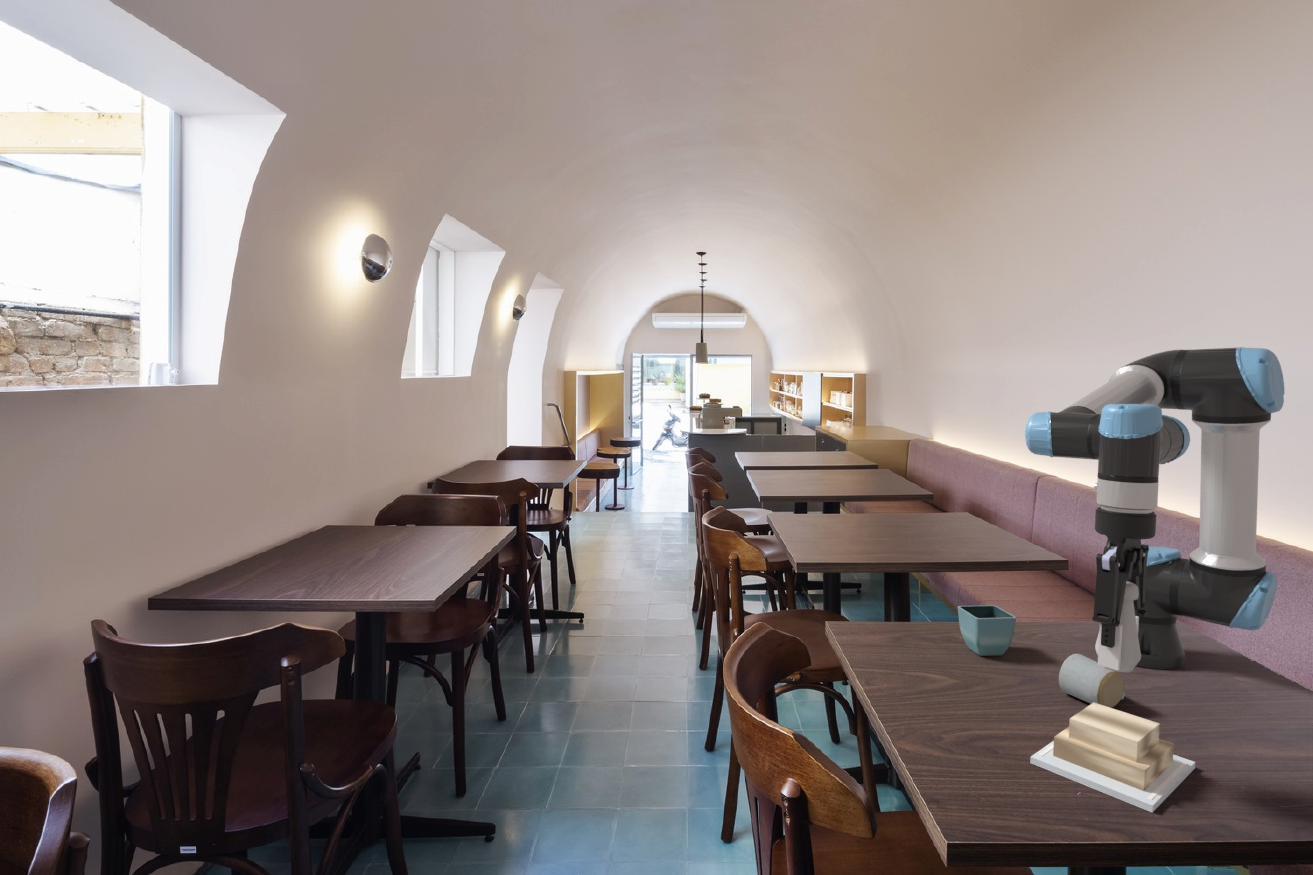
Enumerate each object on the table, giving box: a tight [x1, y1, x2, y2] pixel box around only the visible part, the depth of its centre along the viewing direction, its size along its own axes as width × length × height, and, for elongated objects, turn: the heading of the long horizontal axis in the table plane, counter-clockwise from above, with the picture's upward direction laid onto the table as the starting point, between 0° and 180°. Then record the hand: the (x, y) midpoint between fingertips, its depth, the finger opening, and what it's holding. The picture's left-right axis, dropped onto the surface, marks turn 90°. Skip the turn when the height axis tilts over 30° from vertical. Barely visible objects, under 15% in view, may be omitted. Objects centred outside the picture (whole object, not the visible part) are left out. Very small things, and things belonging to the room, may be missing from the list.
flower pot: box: [957, 604, 1017, 657], centre depth 153 cm, size 9×9×9 cm
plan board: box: [1029, 740, 1196, 813], centre depth 108 cm, size 18×16×1 cm
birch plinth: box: [1053, 703, 1175, 791], centre depth 108 cm, size 12×12×6 cm
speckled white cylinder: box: [1058, 653, 1126, 708], centre depth 130 cm, size 11×8×8 cm
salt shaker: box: [1094, 581, 1141, 673], centre depth 106 cm, size 6×6×13 cm
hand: (1117, 661), depth 107 cm, fingers closed on salt shaker, 6 cm apart
